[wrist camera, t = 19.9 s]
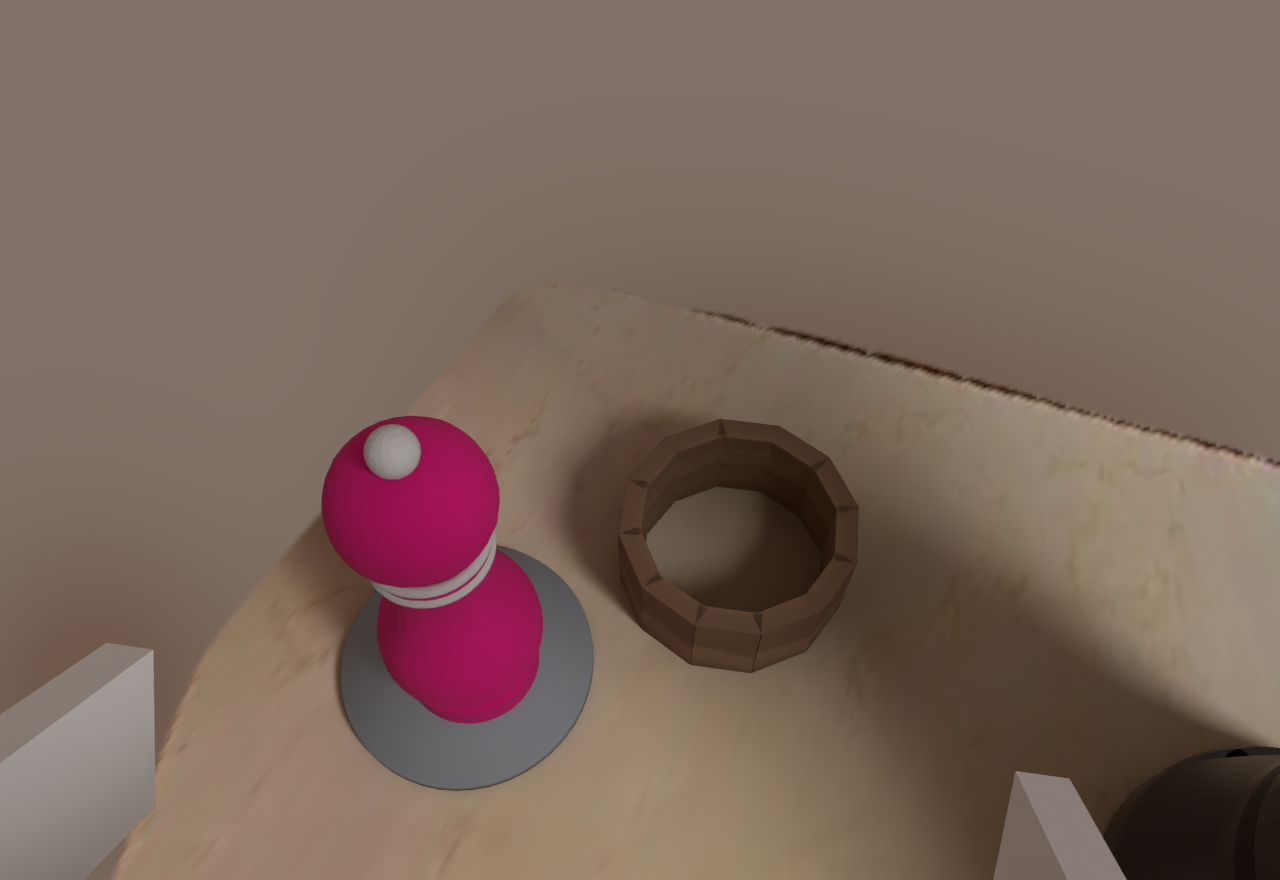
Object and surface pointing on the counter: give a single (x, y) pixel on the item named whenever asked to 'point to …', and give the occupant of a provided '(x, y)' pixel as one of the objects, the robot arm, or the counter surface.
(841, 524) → the brown wooden bowl
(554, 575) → the coaster
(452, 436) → the pepper mill
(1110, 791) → the counter surface
